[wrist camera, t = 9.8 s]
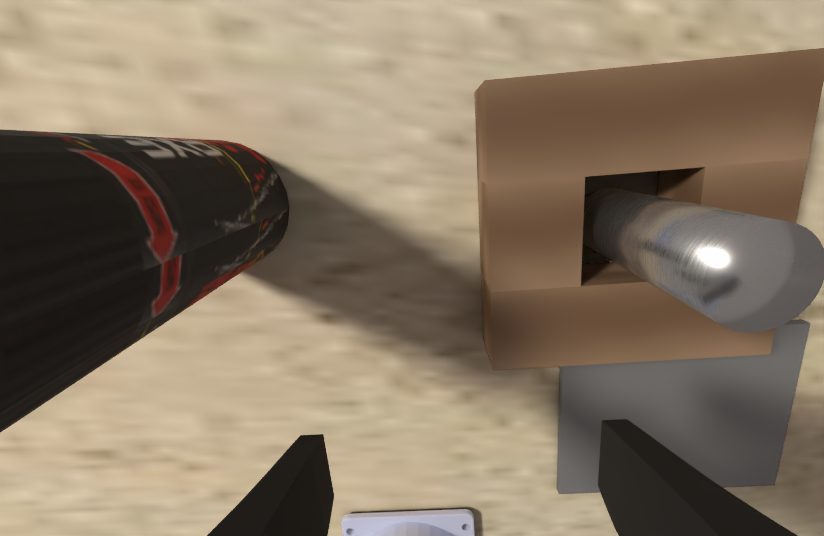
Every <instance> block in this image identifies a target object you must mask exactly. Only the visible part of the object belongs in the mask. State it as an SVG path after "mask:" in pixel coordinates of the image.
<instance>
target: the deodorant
mask: <svg viewBox="0 0 824 536" xmlns="http://www.w3.org/2000/svg"><path fill="white" fill-rule="evenodd" d="M288 216H289V204H288V198H287V193H286V190H285V188H284V185H283V183H282V181H281V179H280V176H279V175H278V174H277V172H276V171H275V170H274V168H273V167H272V166H271V164H270V163H269V162H268V161H267V160H265V159H264V158H263V157H262V156H260V155H259V154H258V153H257V152H256V151H254V150H252V149H250V148H247V147H245V146H243V145H241V144H238V143H233V142H228V141H221V140H200V139H180V138H159V137H139V136H119V135H98V134H78V133H58V132H37V131H17V130H0V432H2V431H3V430H5V429H6V428H8V427H9V426H11V425H12V424H14V423H15V422H17V421H18V420H20V419H21V418H23V417H24V416H26V415H27V414H29V413H30V412H32V411H33V410H35V409H36V408H38V407H39V406H41V405H42V404H44V403H45V402H47V401H48V400H50V399H51V398H53V397H54V396H56V395H57V394H59V393H60V392H62V391H63V390H65V389H66V388H68V387H69V386H71V385H72V384H74V383H75V382H77V381H78V380H80V379H81V378H83V377H84V376H86V375H87V374H89V373H90V372H92V371H93V370H95V369H96V368H98V367H99V366H101V365H102V364H104V363H105V362H107V361H108V360H110V359H111V358H113V357H114V356H116V355H117V354H119V353H120V352H122V351H123V350H125V349H126V348H128V347H129V346H131V345H132V344H134V343H135V342H137V341H138V340H140V339H141V338H143V337H144V336H146V335H147V334H149V333H150V332H152V331H153V330H155V329H156V328H158V327H159V326H161V325H162V324H164V323H165V322H167V321H168V320H170V319H171V318H173V317H175V316H176V315H178V314H179V313H181V312H182V311H184V310H185V309H187V308H188V307H190V306H191V305H193V304H194V303H196V302H197V301H199V300H200V299H202V298H203V297H205V296H206V295H208V294H209V293H211V292H212V291H214V290H215V289H217V288H218V287H220V286H221V285H223V284H224V283H226V282H227V281H229V280H230V279H232V278H233V277H235V276H236V275H238V274H239V273H241V272H242V271H244V270H245V269H247V268H248V267H250V266H251V265H253V264H254V263H256V262H257V261H259V260H260V259H262V258H263V257H264V256H266V255H267V254H269V253H270V252H271V251H273V250H274V249H275V247H276V246H277V245H278V243H279V242H280V241H281V239H282V238H283V235H284V233H285V230H286V228H287V225H288Z"/></svg>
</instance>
